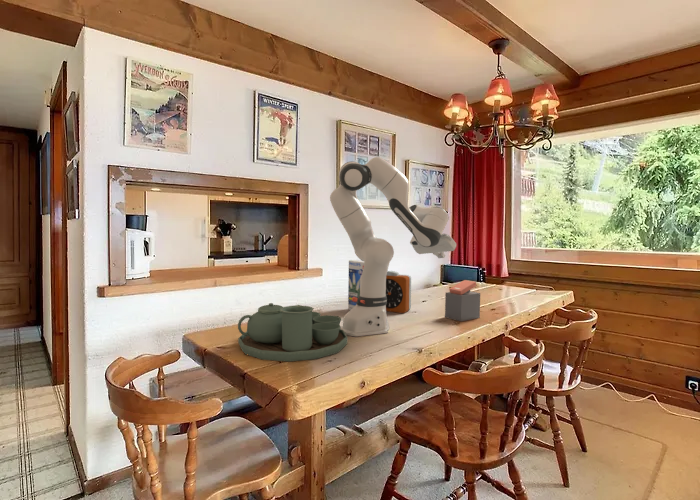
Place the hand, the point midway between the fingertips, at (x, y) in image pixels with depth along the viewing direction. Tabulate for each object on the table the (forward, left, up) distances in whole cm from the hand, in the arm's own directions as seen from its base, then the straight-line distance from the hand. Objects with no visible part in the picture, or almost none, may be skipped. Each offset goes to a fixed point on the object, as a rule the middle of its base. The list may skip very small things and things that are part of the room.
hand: (442, 257), depth 188 cm
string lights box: (-19, +37, -30) cm, 51 cm away
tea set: (-73, +4, -30) cm, 79 cm away
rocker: (+15, -1, -17) cm, 23 cm away
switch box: (+14, -1, -30) cm, 33 cm away
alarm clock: (-5, +30, -30) cm, 43 cm away
